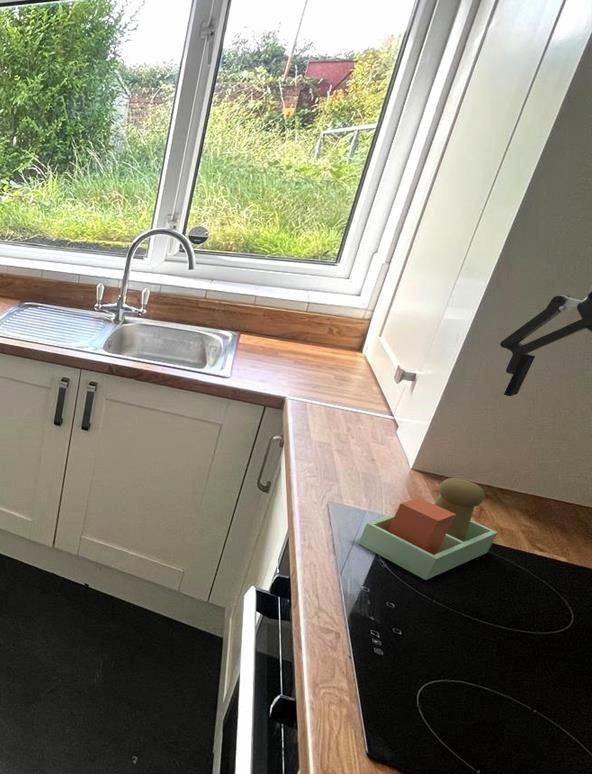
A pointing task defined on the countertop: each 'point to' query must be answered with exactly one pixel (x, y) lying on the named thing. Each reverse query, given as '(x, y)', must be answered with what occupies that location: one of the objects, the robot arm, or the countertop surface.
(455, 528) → the cork
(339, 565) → the countertop surface
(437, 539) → the terracotta block
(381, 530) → the sorting tray
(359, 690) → the countertop surface
